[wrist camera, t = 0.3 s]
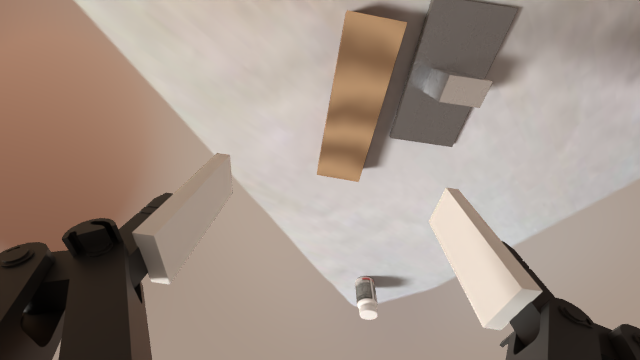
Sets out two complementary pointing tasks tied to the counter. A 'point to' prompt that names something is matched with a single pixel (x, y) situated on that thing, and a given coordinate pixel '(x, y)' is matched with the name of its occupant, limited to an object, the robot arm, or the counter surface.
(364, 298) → the pill bottle
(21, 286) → the robot arm
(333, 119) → the board
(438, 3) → the fulcrum
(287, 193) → the counter surface
